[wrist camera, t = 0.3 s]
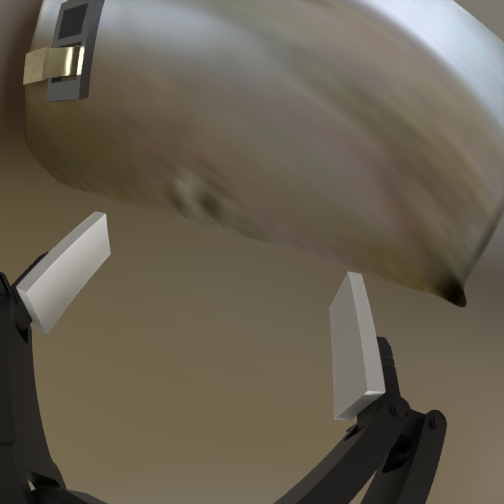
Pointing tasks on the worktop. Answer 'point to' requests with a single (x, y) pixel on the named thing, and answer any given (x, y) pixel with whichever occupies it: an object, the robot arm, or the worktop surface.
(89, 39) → the grey flat piece
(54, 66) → the tan block
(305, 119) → the worktop surface
